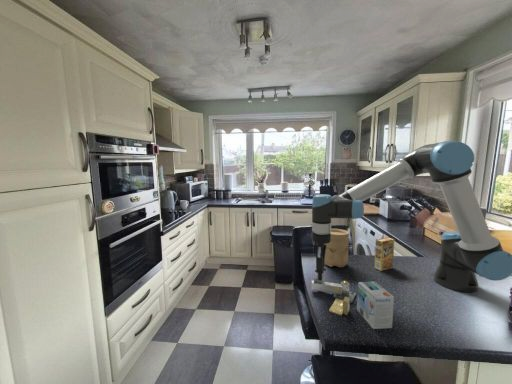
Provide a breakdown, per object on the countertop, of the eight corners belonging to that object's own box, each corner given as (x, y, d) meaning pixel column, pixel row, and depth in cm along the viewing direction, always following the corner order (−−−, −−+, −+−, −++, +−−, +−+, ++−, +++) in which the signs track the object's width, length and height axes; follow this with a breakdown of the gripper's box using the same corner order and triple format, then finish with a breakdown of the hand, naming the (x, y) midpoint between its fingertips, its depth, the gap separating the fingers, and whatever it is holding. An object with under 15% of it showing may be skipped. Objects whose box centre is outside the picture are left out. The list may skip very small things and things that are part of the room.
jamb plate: (355, 294, 93) (355, 292, 93) (351, 303, 88) (351, 300, 88) (338, 289, 97) (338, 287, 97) (333, 297, 92) (333, 295, 92)
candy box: (381, 271, 115) (382, 241, 113) (373, 267, 119) (375, 239, 117) (393, 268, 118) (395, 239, 116) (385, 265, 122) (387, 237, 120)
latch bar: (348, 291, 93) (349, 280, 93) (349, 295, 90) (349, 284, 90) (311, 286, 98) (312, 275, 97) (311, 290, 95) (311, 279, 94)
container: (320, 265, 122) (320, 232, 120) (327, 257, 132) (327, 227, 130) (344, 271, 115) (346, 236, 113) (350, 262, 125) (351, 230, 123)
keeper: (352, 304, 87) (352, 291, 87) (346, 317, 79) (346, 304, 79) (336, 299, 90) (336, 287, 90) (328, 311, 83) (329, 298, 82)
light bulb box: (356, 309, 84) (357, 281, 83) (373, 308, 85) (375, 280, 83) (373, 329, 73) (375, 298, 72) (393, 328, 74) (395, 297, 73)
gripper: (314, 227, 102) (313, 277, 104) (309, 235, 90) (308, 292, 93) (332, 228, 99) (330, 280, 102) (329, 237, 87) (327, 295, 90)
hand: (320, 286), depth 97 cm, fingers closed
